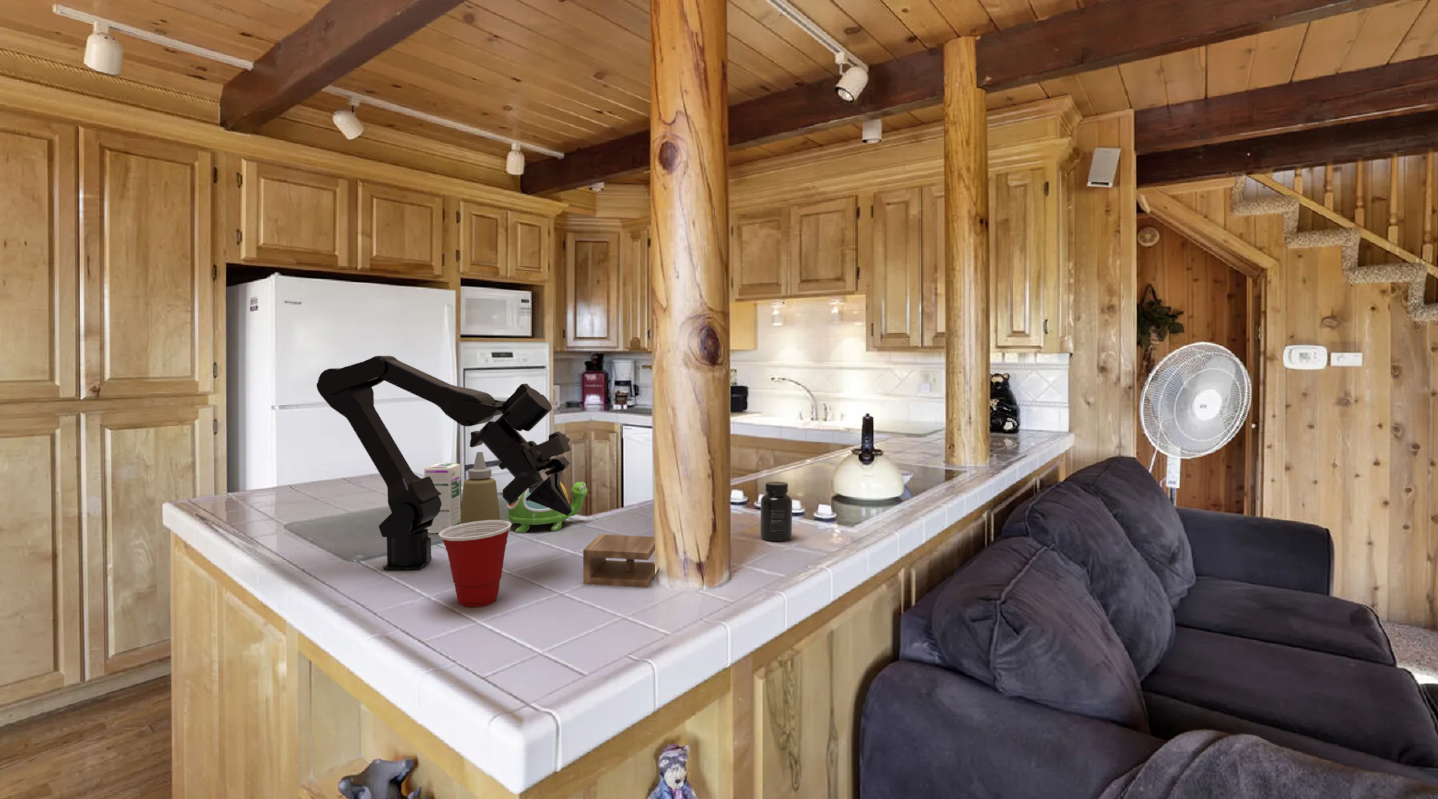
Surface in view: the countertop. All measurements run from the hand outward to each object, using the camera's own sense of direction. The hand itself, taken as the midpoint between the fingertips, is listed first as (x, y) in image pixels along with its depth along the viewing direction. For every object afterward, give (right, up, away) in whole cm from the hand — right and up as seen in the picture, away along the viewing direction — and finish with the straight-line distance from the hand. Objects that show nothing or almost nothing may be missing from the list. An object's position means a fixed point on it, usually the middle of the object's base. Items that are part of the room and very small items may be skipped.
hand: (570, 513), depth 120 cm
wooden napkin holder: (+4, -8, 0) cm, 9 cm away
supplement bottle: (+39, -10, +26) cm, 48 cm away
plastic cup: (-12, -12, -13) cm, 21 cm away
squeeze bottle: (-24, -9, +23) cm, 35 cm away
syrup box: (-34, -9, +28) cm, 44 cm away
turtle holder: (-13, -9, +33) cm, 37 cm away
